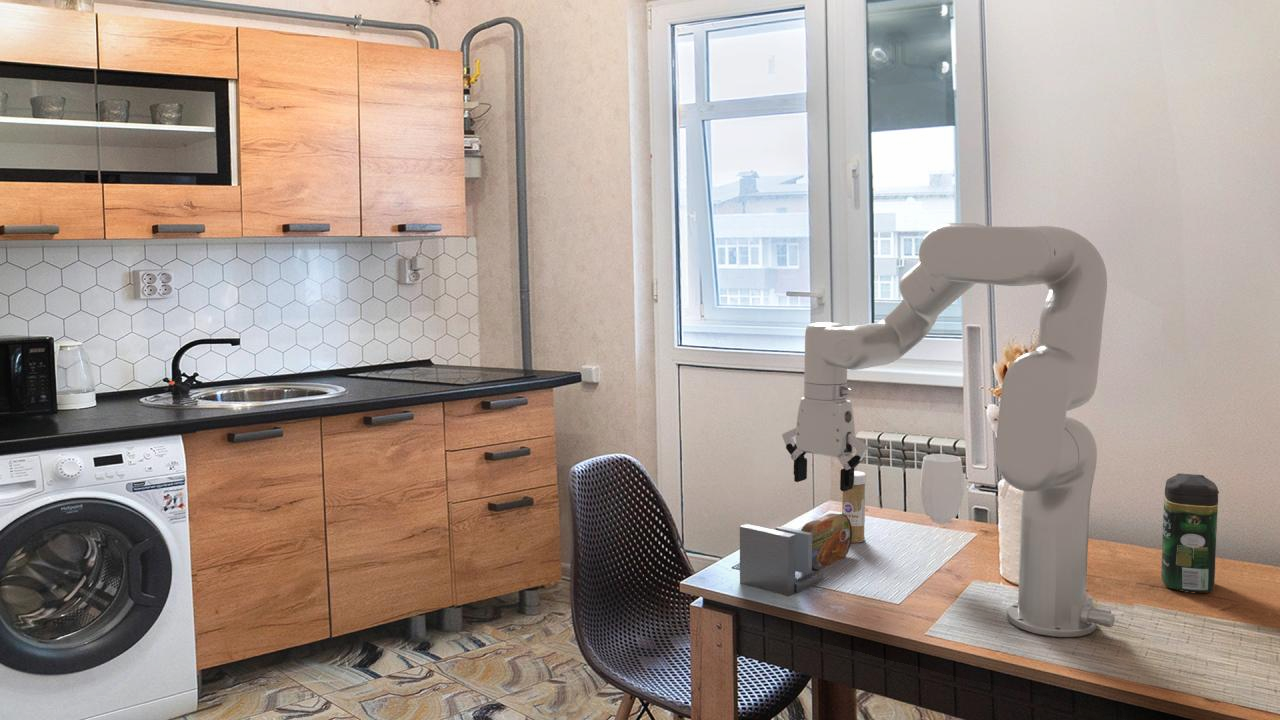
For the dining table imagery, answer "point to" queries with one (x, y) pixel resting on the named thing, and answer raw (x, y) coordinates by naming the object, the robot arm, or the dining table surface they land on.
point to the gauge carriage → (801, 549)
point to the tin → (829, 539)
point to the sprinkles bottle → (856, 506)
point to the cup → (941, 486)
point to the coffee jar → (1189, 533)
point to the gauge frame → (771, 561)
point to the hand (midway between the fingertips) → (823, 485)
